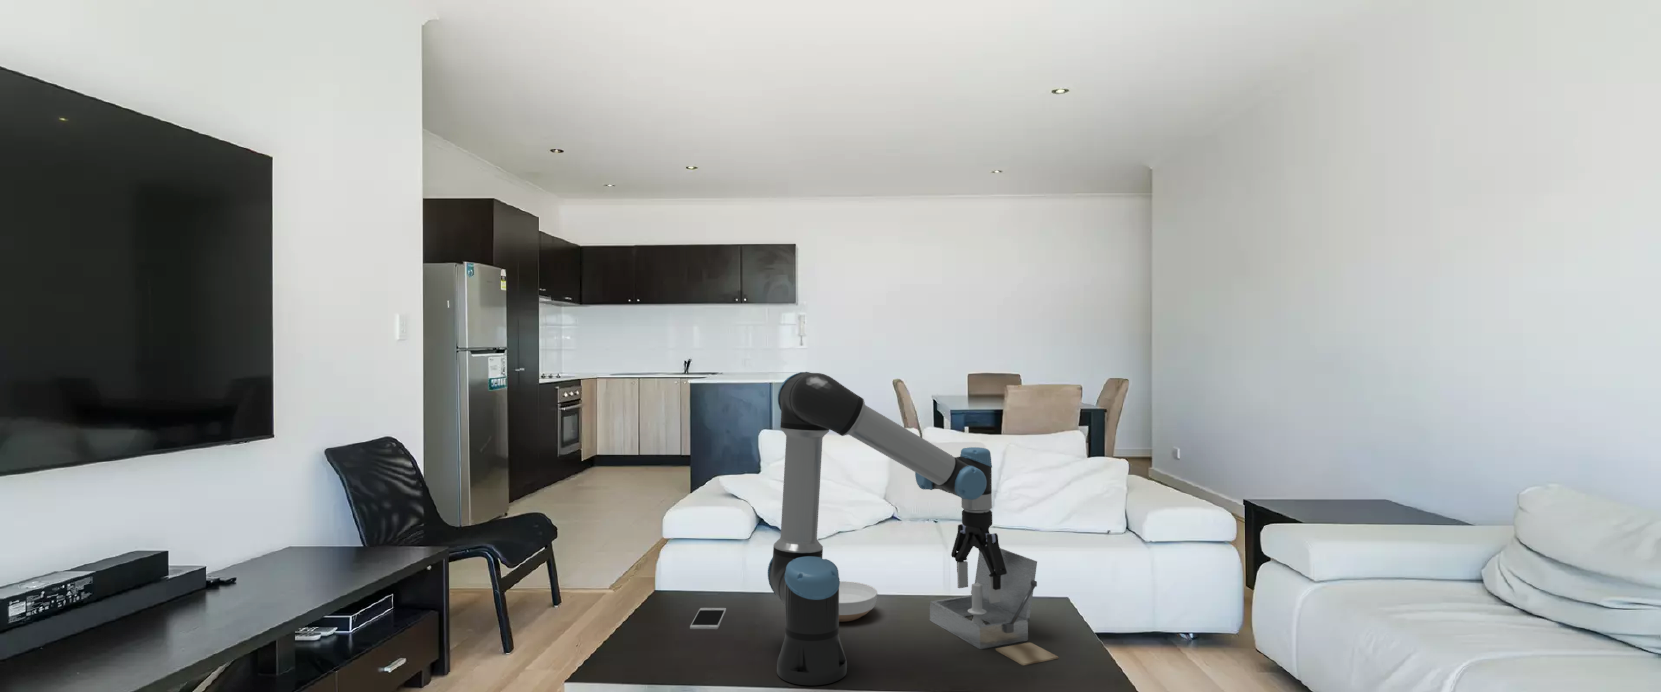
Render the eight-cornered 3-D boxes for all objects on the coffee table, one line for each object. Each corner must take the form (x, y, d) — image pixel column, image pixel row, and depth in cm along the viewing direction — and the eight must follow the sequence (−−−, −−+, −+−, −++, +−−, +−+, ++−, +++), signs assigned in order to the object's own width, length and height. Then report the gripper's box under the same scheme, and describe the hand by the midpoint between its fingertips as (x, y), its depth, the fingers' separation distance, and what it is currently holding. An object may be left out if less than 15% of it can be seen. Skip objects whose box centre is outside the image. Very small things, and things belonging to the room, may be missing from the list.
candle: (968, 625, 198) (968, 578, 198) (989, 628, 196) (989, 580, 196) (964, 632, 193) (964, 583, 193) (985, 635, 191) (985, 586, 191)
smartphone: (726, 610, 210) (726, 607, 210) (717, 630, 195) (717, 626, 195) (700, 610, 210) (700, 607, 210) (689, 630, 195) (689, 626, 195)
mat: (1022, 665, 172) (1022, 663, 172) (995, 650, 181) (995, 648, 181) (1058, 658, 176) (1058, 656, 176) (1029, 643, 185) (1029, 642, 185)
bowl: (878, 604, 215) (878, 582, 215) (875, 628, 196) (875, 604, 196) (809, 602, 217) (809, 580, 217) (799, 625, 198) (799, 601, 198)
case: (982, 650, 181) (982, 569, 181) (929, 620, 202) (929, 547, 202) (1040, 640, 188) (1039, 561, 188) (983, 612, 209) (983, 541, 209)
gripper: (1020, 517, 185) (1022, 606, 185) (961, 500, 208) (962, 579, 208) (994, 520, 182) (996, 611, 182) (937, 502, 205) (938, 583, 205)
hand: (978, 594), depth 195 cm, fingers open, 13 cm apart
